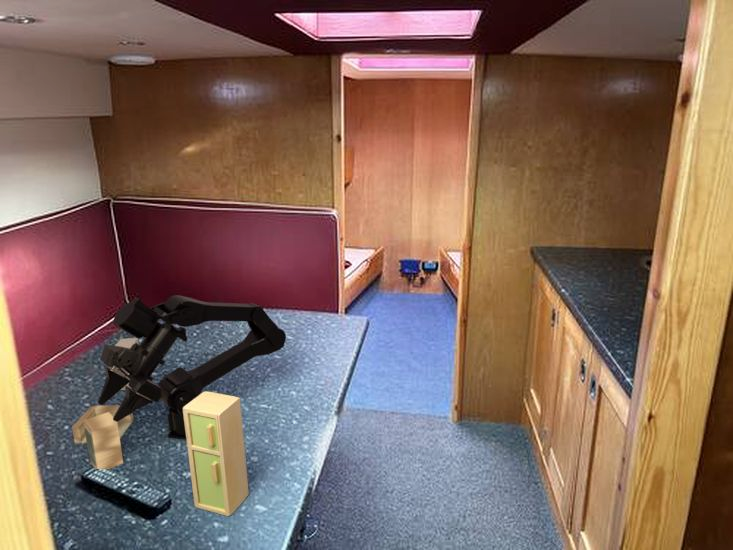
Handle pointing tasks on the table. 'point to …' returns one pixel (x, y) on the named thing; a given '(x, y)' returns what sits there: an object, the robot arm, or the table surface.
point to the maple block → (103, 441)
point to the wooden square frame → (95, 411)
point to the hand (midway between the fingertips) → (107, 412)
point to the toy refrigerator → (216, 452)
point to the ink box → (127, 344)
